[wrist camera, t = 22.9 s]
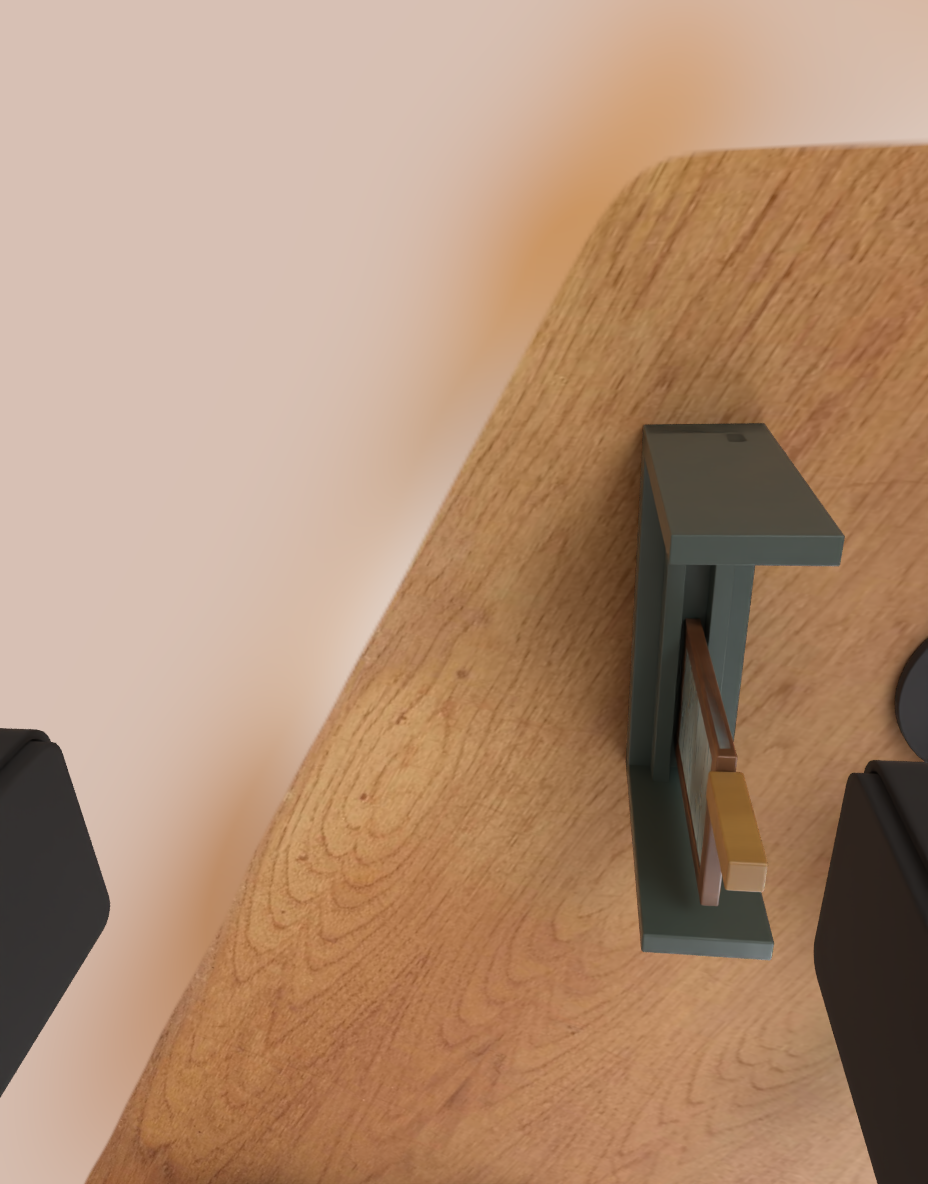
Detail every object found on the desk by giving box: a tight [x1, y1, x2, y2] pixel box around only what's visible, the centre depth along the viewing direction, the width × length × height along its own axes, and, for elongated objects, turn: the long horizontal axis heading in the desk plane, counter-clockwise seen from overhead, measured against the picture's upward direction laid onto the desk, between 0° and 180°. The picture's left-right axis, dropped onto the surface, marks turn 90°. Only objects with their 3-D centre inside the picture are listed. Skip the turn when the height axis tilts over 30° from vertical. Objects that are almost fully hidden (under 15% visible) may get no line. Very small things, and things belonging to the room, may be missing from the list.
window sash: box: [674, 618, 768, 906], centre depth 33 cm, size 7×1×14 cm, turn 3°
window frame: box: [626, 423, 845, 960], centre depth 34 cm, size 18×5×12 cm, turn 3°
